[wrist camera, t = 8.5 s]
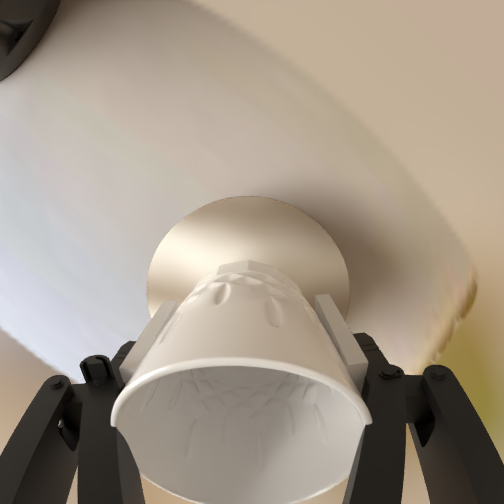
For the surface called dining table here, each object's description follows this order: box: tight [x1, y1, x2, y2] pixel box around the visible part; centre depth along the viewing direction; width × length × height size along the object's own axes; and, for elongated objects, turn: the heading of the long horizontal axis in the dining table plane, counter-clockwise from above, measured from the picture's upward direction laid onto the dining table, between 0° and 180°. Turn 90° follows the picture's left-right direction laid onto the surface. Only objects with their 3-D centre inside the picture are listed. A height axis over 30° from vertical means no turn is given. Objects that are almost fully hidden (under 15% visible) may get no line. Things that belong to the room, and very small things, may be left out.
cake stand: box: [147, 196, 350, 320], centre depth 21 cm, size 13×13×6 cm
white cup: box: [111, 260, 372, 504], centre depth 12 cm, size 8×8×10 cm
